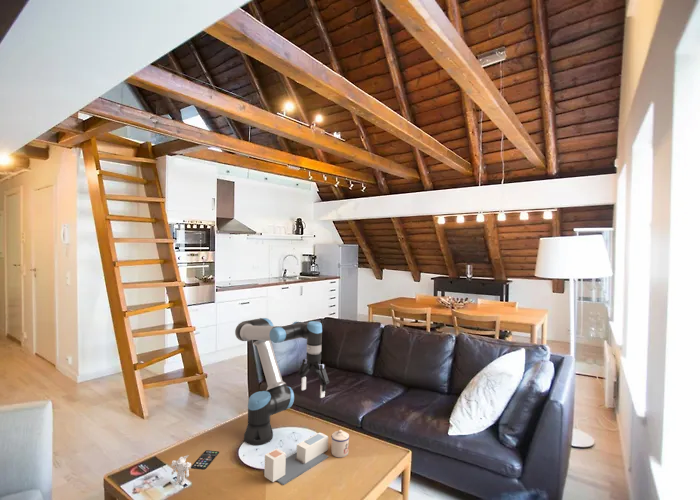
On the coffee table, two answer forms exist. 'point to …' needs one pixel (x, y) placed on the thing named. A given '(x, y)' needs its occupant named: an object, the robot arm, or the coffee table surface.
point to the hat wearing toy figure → (181, 469)
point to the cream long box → (312, 447)
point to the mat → (298, 467)
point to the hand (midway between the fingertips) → (312, 393)
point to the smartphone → (205, 460)
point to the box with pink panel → (275, 464)
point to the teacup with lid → (340, 443)
